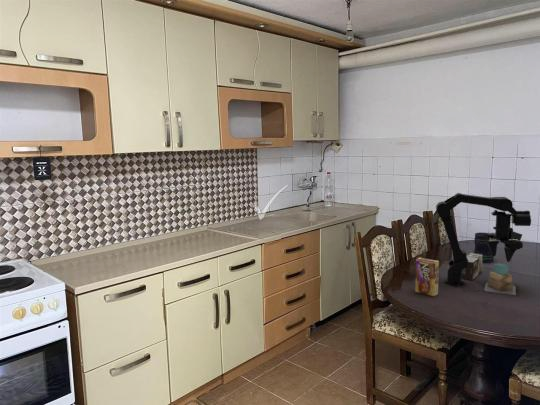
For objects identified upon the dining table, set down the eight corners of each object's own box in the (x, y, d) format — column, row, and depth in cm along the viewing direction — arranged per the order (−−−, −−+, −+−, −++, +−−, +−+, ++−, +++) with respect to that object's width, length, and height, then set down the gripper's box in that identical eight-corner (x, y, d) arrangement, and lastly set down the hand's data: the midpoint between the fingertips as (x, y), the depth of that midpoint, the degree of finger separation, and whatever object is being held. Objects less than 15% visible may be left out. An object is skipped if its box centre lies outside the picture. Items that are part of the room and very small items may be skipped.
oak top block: (499, 283, 180) (499, 275, 179) (489, 279, 185) (490, 271, 185) (511, 282, 181) (511, 274, 180) (501, 277, 186) (502, 270, 186)
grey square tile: (515, 295, 175) (515, 294, 175) (484, 291, 181) (484, 290, 181) (515, 286, 186) (515, 285, 186) (485, 282, 192) (485, 282, 192)
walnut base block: (498, 291, 180) (499, 283, 179) (487, 286, 186) (488, 278, 186) (512, 290, 181) (513, 282, 180) (501, 284, 187) (501, 277, 187)
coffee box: (469, 252, 210) (459, 259, 198) (482, 254, 206) (473, 262, 194) (468, 269, 212) (458, 277, 200) (482, 272, 207) (472, 280, 195)
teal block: (500, 274, 180) (500, 266, 180) (493, 272, 184) (494, 263, 183) (508, 274, 181) (508, 265, 180) (501, 271, 185) (502, 262, 184)
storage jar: (489, 258, 230) (490, 232, 228) (496, 263, 220) (498, 236, 218) (470, 258, 231) (471, 232, 229) (477, 263, 222) (478, 236, 219)
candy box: (438, 293, 180) (439, 260, 178) (434, 296, 177) (435, 262, 175) (419, 289, 186) (419, 256, 184) (414, 291, 183) (415, 259, 181)
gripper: (535, 228, 174) (533, 263, 177) (504, 220, 193) (502, 252, 195) (511, 229, 173) (509, 265, 175) (482, 221, 191) (481, 254, 193)
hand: (501, 258), depth 185 cm, fingers open, 9 cm apart
